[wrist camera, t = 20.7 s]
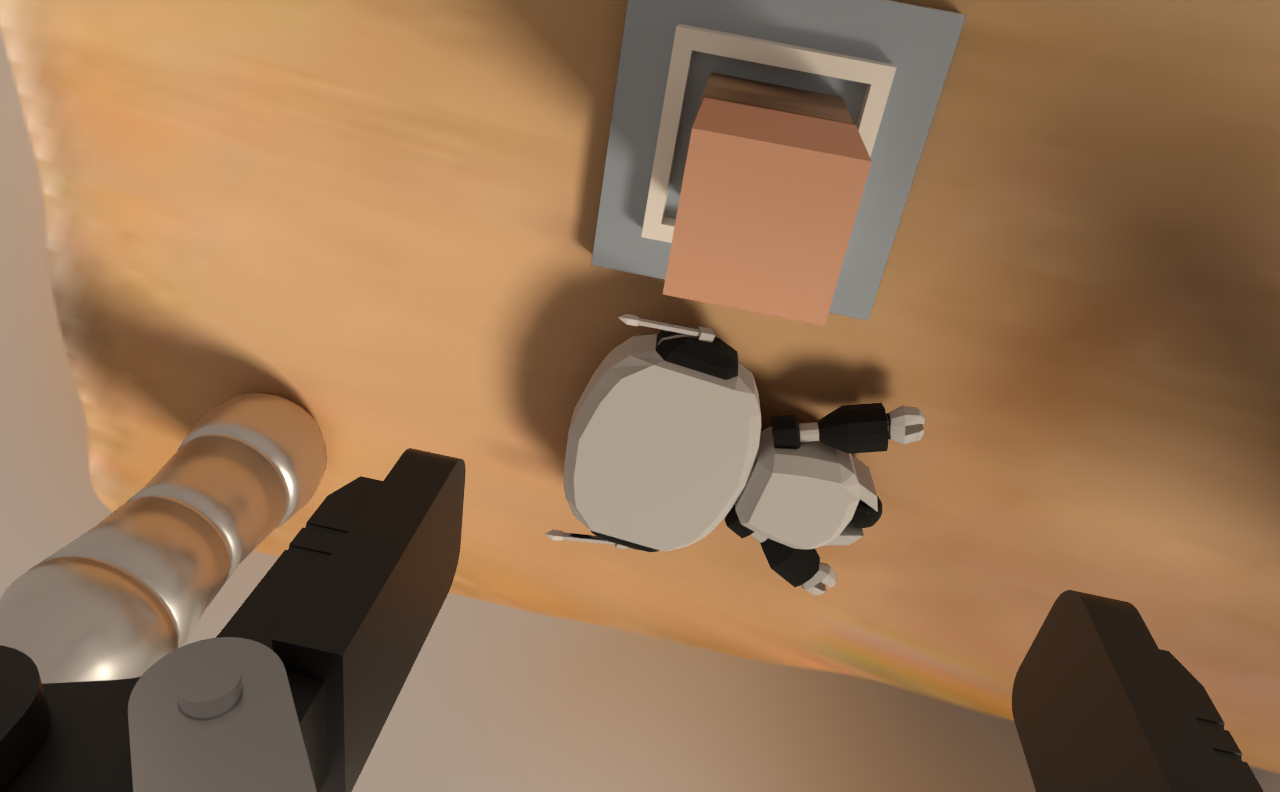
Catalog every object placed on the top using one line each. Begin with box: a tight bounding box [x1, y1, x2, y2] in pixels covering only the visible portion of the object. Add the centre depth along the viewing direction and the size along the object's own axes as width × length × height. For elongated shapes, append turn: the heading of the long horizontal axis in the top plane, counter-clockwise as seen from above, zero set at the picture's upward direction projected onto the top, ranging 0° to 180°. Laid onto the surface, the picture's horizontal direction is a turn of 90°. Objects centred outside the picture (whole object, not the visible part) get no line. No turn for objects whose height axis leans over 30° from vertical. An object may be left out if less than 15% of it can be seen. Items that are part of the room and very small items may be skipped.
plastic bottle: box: [0, 393, 327, 684], centre depth 36 cm, size 6×7×20 cm
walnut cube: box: [700, 72, 854, 125], centre depth 31 cm, size 5×5×5 cm
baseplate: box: [591, 0, 966, 320], centre depth 33 cm, size 12×12×2 cm
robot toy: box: [545, 314, 925, 595], centre depth 39 cm, size 12×4×15 cm
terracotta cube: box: [663, 97, 872, 326], centre depth 27 cm, size 5×5×5 cm
